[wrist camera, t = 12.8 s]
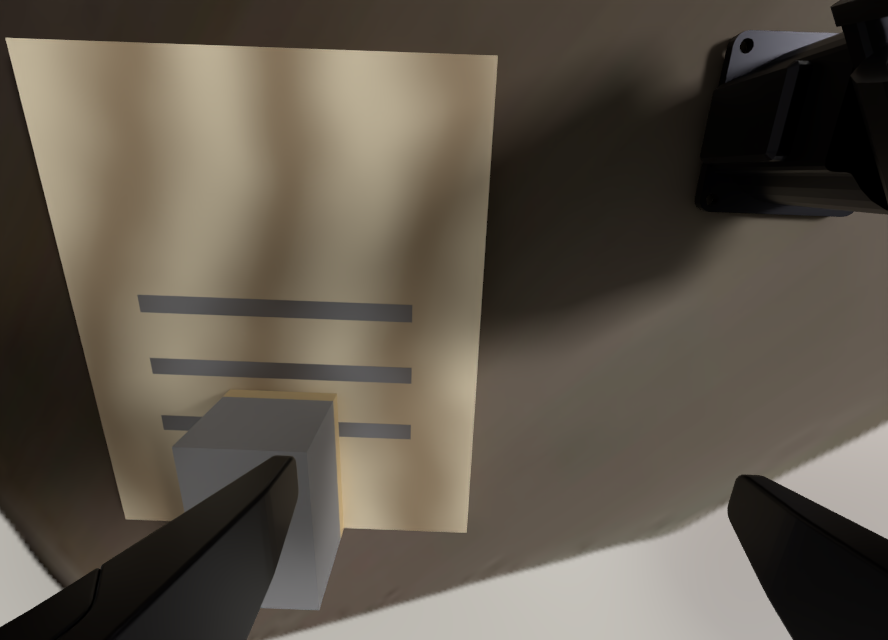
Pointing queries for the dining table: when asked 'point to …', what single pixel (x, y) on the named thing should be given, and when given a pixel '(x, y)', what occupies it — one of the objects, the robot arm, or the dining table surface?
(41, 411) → the dining table surface
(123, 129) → the plywood board
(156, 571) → the robot arm
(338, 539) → the block
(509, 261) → the dining table surface
